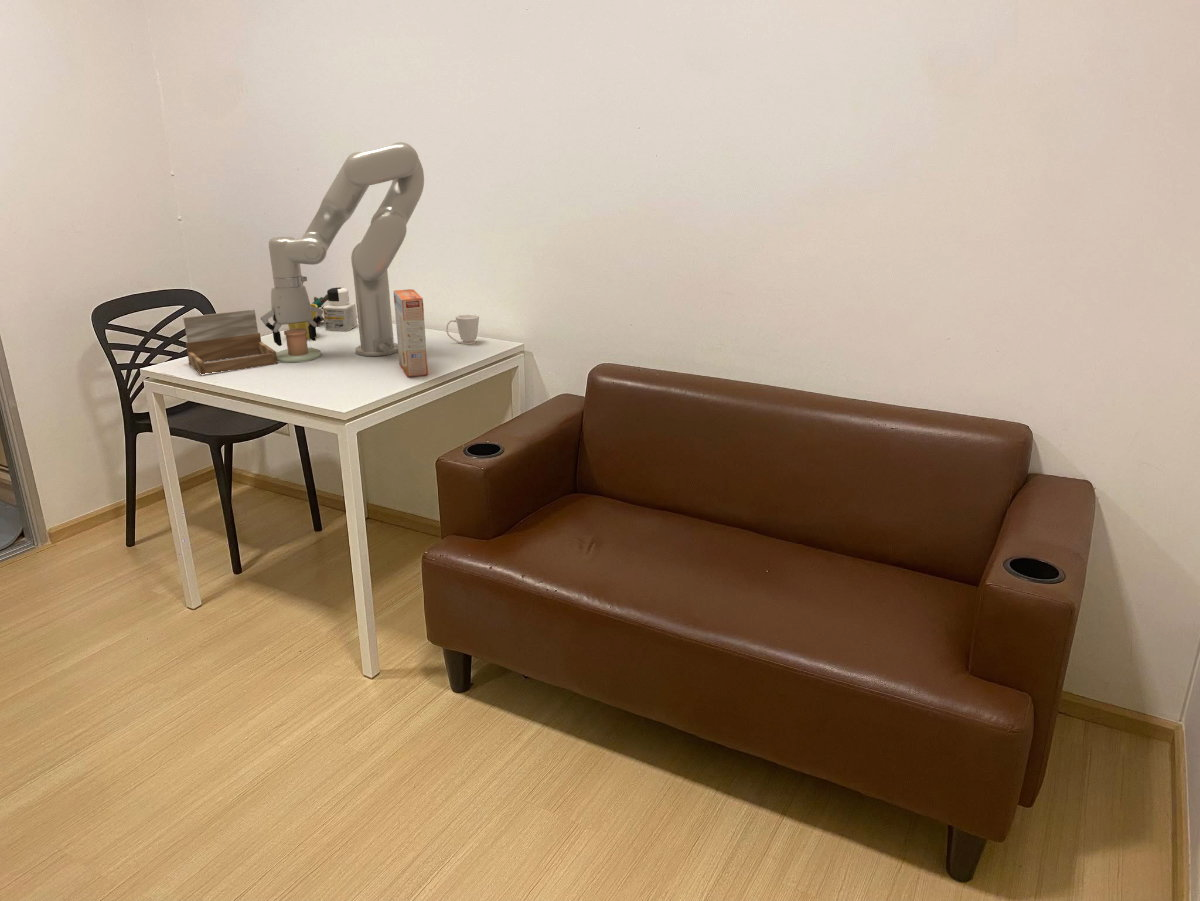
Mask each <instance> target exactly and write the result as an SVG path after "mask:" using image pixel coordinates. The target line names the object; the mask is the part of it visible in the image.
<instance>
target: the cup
mask: <svg viewBox="0 0 1200 901" xmlns="http://www.w3.org/2000/svg"><path fill="white" fill-rule="evenodd" d="M479 320H480V315H477V314H470V313H465V314H458V315H457V316H455V319H451V320H449V321H448V322H447V325H446V334H447V336H448V337H449V338H450V339H451V340H453V341H454V342H456V343H459V344H463V345H475V344H476V343H477V341H476V339H477V336H478V332H479V322H480V321H479ZM452 322H453V323H456V325H457V329H458V330H457V331H458V334H459V337H460V339H461V341H460V340H458V339H456V338H454V337H452V336H451V335H450V334H449V331H448V328H449V325H450V323H452Z"/></svg>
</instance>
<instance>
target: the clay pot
mask: <svg viewBox="0 0 1200 901" xmlns="http://www.w3.org/2000/svg"><path fill="white" fill-rule="evenodd" d="M306 333H307V329H304V328H293V329H289V328H288V329H285V330H283V334H284V336H285V340H286V347H287V349H288V355H291V356H299V355H305V354H307V353H308V348H309V346H308V339H307V338H306Z"/></svg>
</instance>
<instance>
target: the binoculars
mask: <svg viewBox="0 0 1200 901" xmlns="http://www.w3.org/2000/svg"><path fill="white" fill-rule="evenodd" d="M326 302H328V296H327V294H325V295H324V296H323V297H322V296H320V297H317V296H313V301H312V303H311V304H316V305H317V306H318V308H319V309H321V310H323V307H324V306H325V305H324V304H325V303H326ZM322 321H323V322H324V323H325V320H324V316H323V315H322V316H321V320H320V321H319V322H318V324H317V326H318V325H320V324H321V323H322Z"/></svg>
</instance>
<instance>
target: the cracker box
mask: <svg viewBox="0 0 1200 901" xmlns="http://www.w3.org/2000/svg"><path fill="white" fill-rule="evenodd" d="M423 298H424V297H422V296H421V295H420V294H419V293H418V292H417V291H416V290H415V289H397V290H396V289H395V290H393V301H394V302H393V303H394V311H395V312H394V314H395V326H396V336H397V337H396V338H397V340H396V341H397V344H398V362H399V363H398V364H399V366H400V368H401V369H402V371H403V372H404V374H405V376H407V377H408V378H409V377H421V376H428V375H429V369H428V355H427V354H428V352H427V341H426V338H427V337H426V327H425V313H424V312H425V310H424V299H423Z"/></svg>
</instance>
